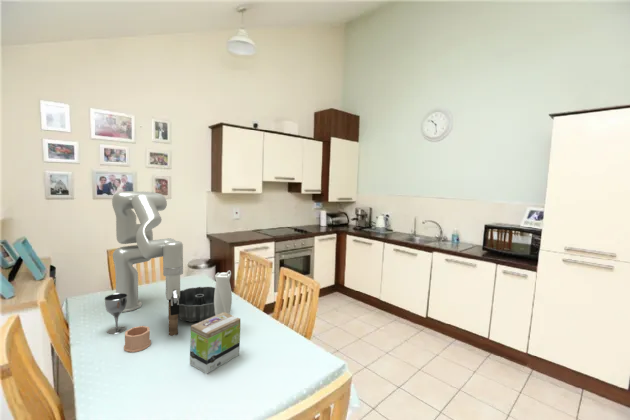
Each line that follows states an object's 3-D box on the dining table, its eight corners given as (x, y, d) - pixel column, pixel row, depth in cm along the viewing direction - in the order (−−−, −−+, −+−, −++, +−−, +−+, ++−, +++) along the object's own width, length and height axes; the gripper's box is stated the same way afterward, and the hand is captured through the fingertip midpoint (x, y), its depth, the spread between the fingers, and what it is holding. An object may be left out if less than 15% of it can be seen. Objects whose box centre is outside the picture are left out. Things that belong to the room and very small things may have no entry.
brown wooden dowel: (168, 332, 126) (168, 301, 125) (177, 331, 128) (177, 300, 127) (168, 336, 123) (168, 304, 122) (178, 334, 125) (178, 303, 123)
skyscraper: (235, 332, 128) (236, 270, 126) (219, 338, 123) (220, 273, 120) (225, 326, 133) (226, 266, 131) (210, 331, 128) (210, 269, 126)
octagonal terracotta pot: (124, 343, 117) (124, 328, 116) (150, 337, 121) (150, 323, 121) (123, 354, 109) (122, 339, 108) (151, 348, 114) (151, 333, 113)
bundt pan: (212, 300, 163) (213, 282, 162) (237, 316, 145) (237, 296, 144) (162, 313, 145) (161, 293, 144) (182, 333, 126) (182, 311, 125)
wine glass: (116, 335, 122) (115, 301, 121) (100, 333, 123) (99, 298, 122) (132, 327, 130) (131, 294, 128) (116, 324, 131) (116, 292, 130)
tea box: (207, 375, 99) (207, 333, 98) (189, 365, 104) (189, 325, 103) (240, 354, 112) (241, 317, 111) (222, 346, 117) (223, 310, 116)
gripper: (162, 266, 128) (162, 304, 130) (164, 277, 114) (165, 320, 115) (180, 264, 132) (181, 301, 133) (185, 274, 117) (186, 316, 119)
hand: (173, 310), depth 124 cm, fingers open, 9 cm apart
